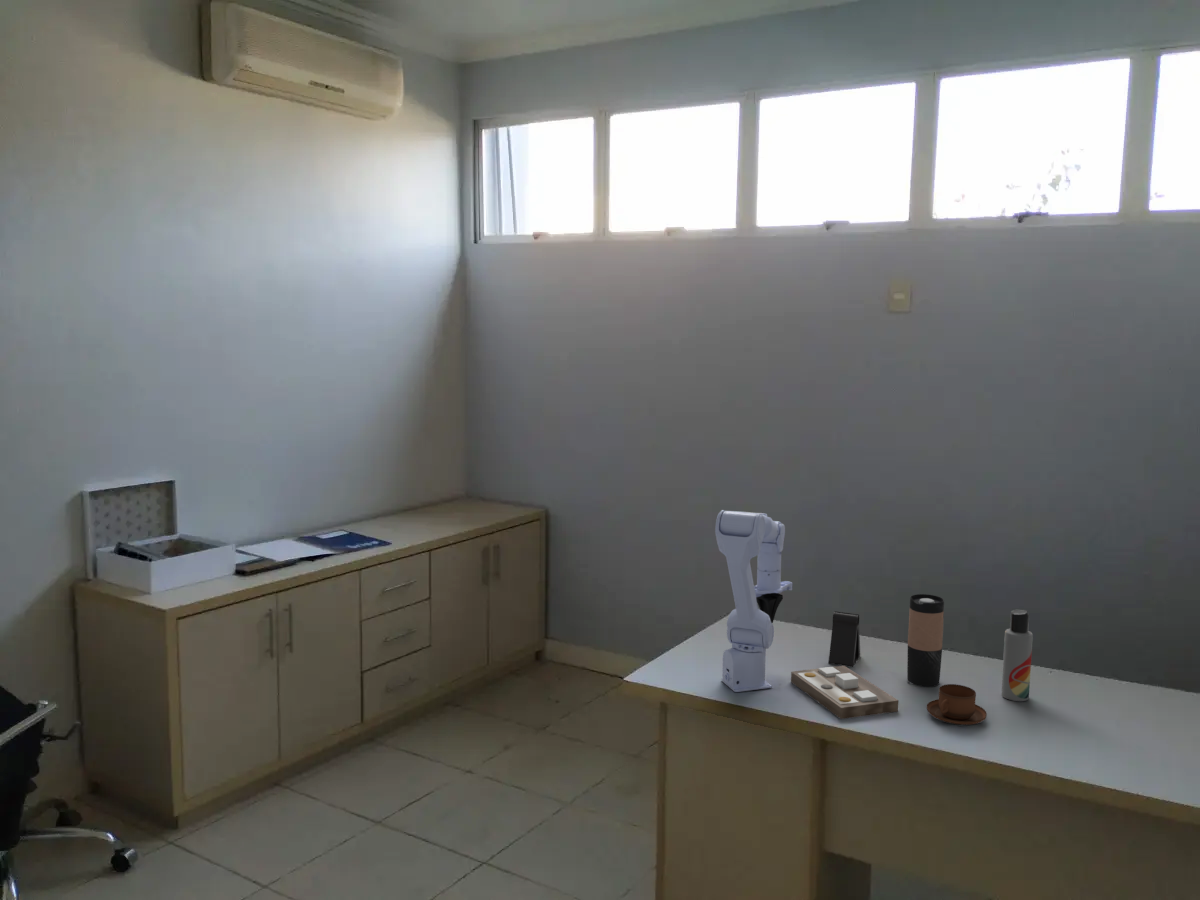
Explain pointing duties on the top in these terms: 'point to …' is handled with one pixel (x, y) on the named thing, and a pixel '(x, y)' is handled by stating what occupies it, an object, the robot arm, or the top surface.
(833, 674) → the button back
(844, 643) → the phone stand
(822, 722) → the top surface
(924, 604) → the travel mug
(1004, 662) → the lotion bottle
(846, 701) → the button board
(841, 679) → the button middle
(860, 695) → the button front
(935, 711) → the cup and saucer
